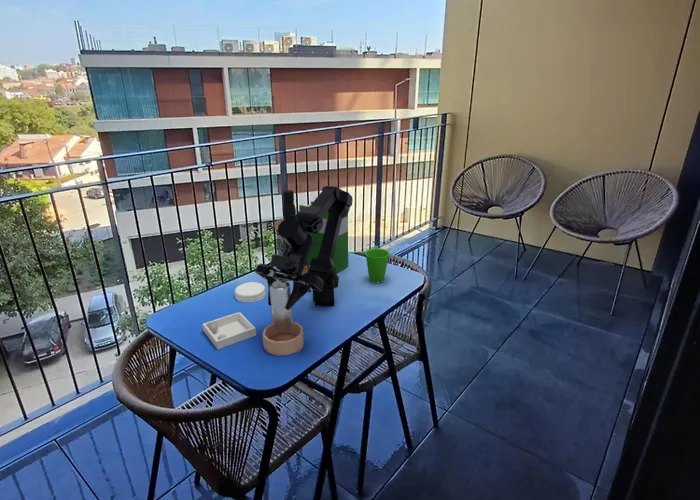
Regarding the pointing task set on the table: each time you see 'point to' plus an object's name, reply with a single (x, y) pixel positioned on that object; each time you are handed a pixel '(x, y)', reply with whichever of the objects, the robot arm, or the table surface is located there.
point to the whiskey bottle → (287, 210)
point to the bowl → (283, 340)
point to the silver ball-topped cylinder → (280, 305)
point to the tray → (230, 330)
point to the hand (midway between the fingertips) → (278, 307)
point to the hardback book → (341, 246)
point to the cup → (377, 263)
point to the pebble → (213, 328)
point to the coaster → (250, 292)
